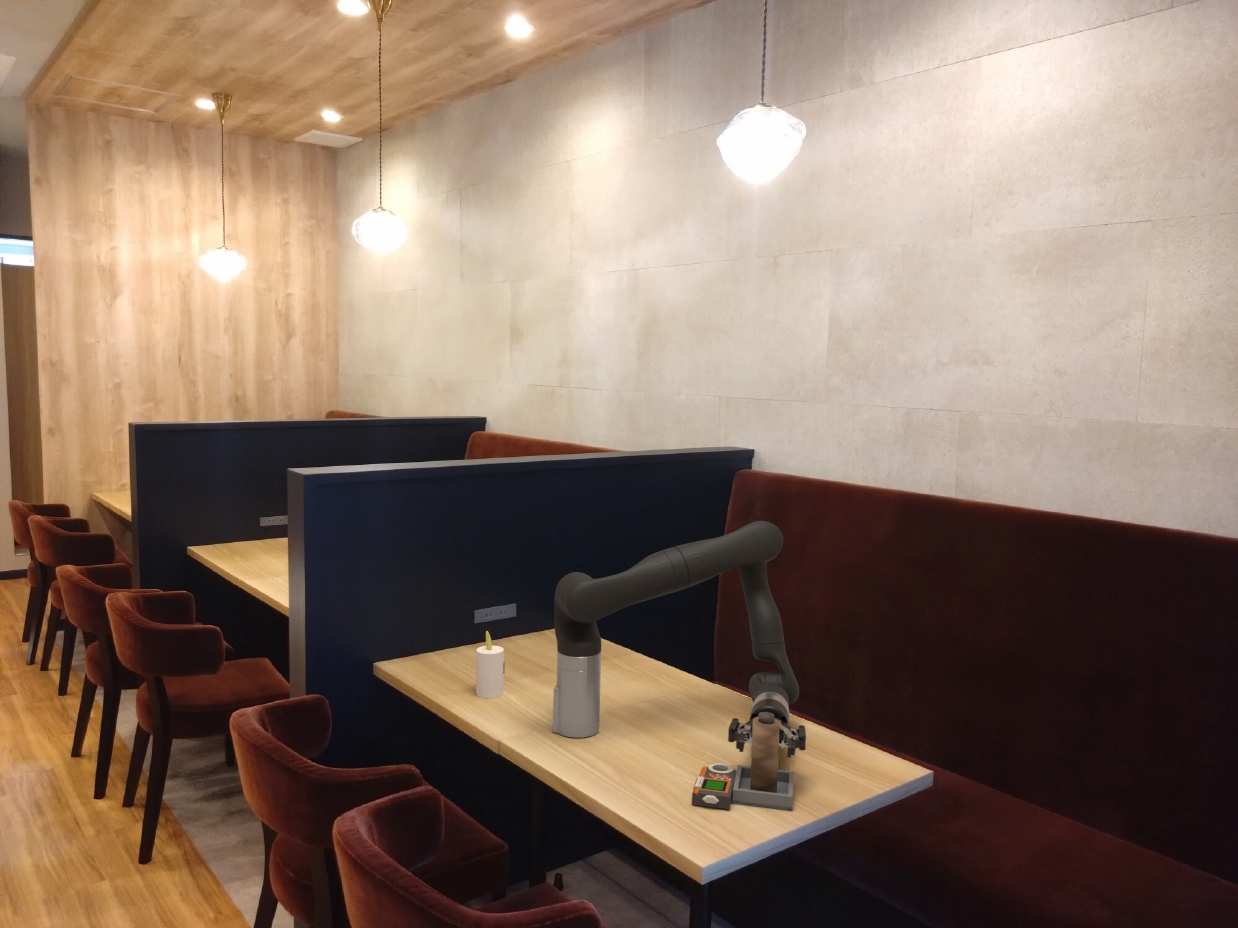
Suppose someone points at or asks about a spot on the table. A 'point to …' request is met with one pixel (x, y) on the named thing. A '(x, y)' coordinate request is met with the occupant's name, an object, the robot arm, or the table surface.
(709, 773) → the electronic device
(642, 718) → the table surface
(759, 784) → the pepper mill
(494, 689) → the candle
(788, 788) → the tray
